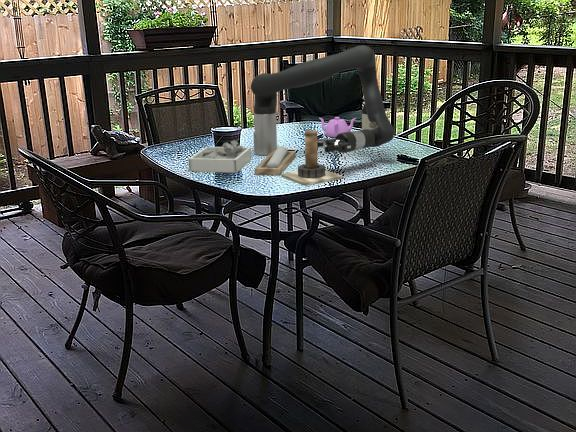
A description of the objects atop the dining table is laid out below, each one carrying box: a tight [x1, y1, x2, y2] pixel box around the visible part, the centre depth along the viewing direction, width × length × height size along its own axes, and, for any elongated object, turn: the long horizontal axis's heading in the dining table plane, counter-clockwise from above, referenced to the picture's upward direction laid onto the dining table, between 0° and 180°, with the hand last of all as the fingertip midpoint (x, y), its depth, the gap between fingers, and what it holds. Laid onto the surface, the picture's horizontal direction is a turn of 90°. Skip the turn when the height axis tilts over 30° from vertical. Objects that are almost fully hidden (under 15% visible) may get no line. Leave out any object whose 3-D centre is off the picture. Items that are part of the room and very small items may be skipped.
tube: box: [266, 145, 289, 168], centre depth 260 cm, size 5×5×25 cm
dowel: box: [304, 129, 319, 169], centre depth 238 cm, size 4×4×16 cm
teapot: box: [318, 116, 357, 138], centre depth 313 cm, size 12×14×9 cm
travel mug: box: [361, 101, 378, 130], centre depth 294 cm, size 8×8×18 cm
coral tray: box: [187, 146, 252, 174], centre depth 262 cm, size 19×22×5 cm
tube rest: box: [254, 150, 297, 176], centre depth 259 cm, size 10×31×2 cm, turn 168°
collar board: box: [280, 163, 343, 186], centre depth 240 cm, size 16×16×4 cm
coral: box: [201, 140, 244, 159], centre depth 259 cm, size 17×14×10 cm
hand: (317, 148), depth 239 cm, fingers open, 8 cm apart
